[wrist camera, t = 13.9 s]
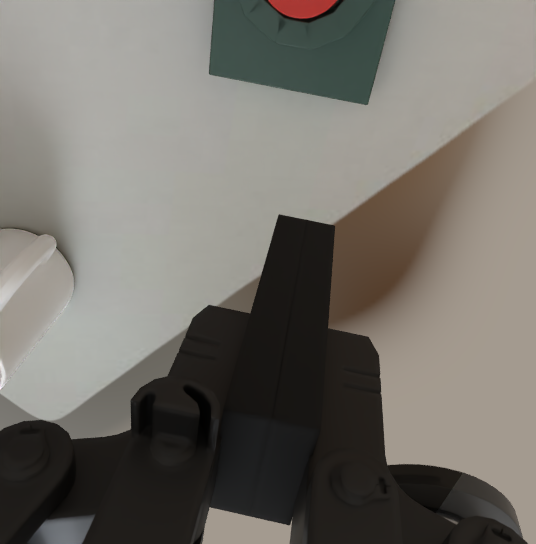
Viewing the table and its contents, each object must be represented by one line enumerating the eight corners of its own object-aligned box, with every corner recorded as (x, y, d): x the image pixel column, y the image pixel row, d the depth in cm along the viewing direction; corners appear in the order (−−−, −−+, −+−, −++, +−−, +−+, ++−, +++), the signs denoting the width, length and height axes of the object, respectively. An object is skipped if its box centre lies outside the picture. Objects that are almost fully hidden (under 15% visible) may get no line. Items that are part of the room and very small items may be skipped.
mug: (30, 173, 35) (-73, 247, 27) (122, 248, 38) (55, 338, 29) (-36, 263, 41) (-137, 347, 32) (48, 323, 43) (-26, 415, 35)
